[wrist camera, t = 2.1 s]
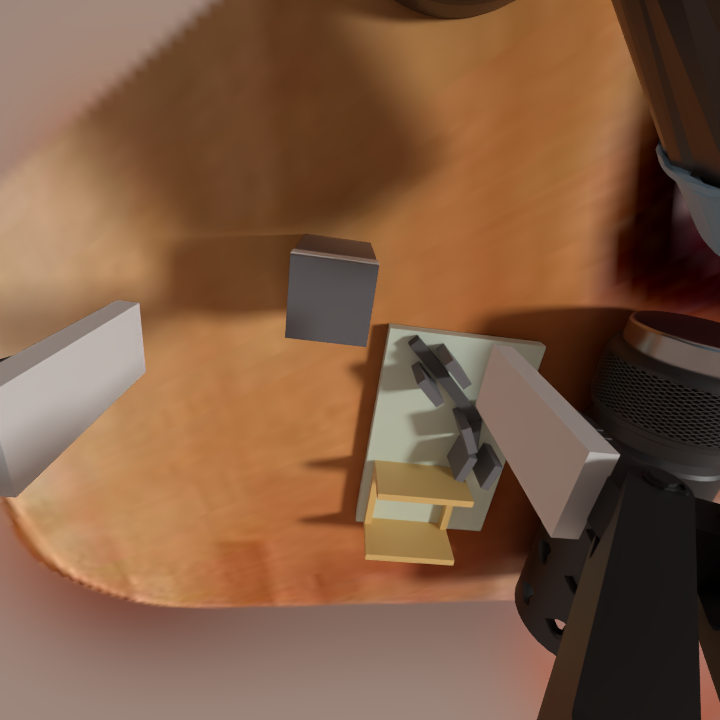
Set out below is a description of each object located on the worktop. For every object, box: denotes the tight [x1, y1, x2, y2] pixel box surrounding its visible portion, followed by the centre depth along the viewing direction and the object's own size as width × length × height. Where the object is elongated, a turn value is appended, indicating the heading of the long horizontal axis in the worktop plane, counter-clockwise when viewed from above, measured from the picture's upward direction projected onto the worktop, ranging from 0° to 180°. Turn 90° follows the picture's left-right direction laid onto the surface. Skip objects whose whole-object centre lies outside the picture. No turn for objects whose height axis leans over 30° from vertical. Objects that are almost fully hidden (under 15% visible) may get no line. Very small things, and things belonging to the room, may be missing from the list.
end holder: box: [363, 460, 474, 566], centre depth 34 cm, size 7×8×4 cm
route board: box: [356, 324, 546, 531], centre depth 33 cm, size 19×12×4 cm, turn 172°
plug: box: [285, 234, 379, 347], centre depth 25 cm, size 5×5×8 cm
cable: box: [408, 335, 482, 457], centre depth 32 cm, size 13×3×1 cm, turn 23°
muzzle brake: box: [515, 311, 720, 656], centre depth 31 cm, size 10×28×10 cm, turn 174°
